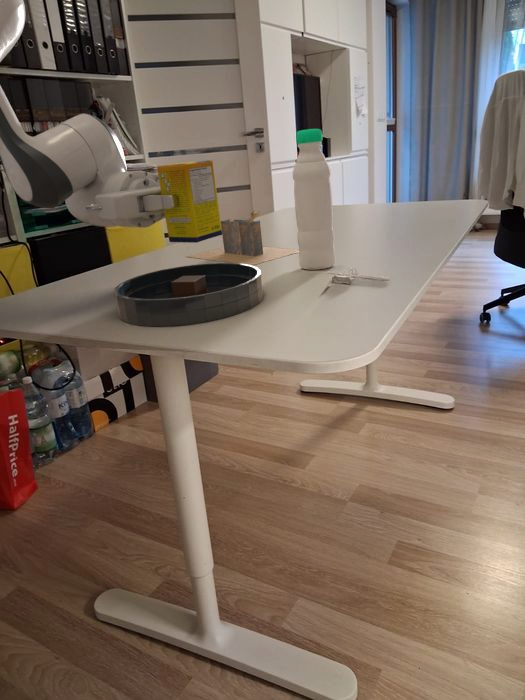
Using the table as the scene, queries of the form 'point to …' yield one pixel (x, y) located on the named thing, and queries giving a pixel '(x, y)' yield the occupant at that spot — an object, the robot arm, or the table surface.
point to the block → (189, 286)
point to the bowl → (164, 310)
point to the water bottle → (313, 203)
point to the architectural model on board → (243, 244)
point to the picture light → (349, 277)
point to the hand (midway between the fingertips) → (194, 197)
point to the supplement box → (191, 201)
